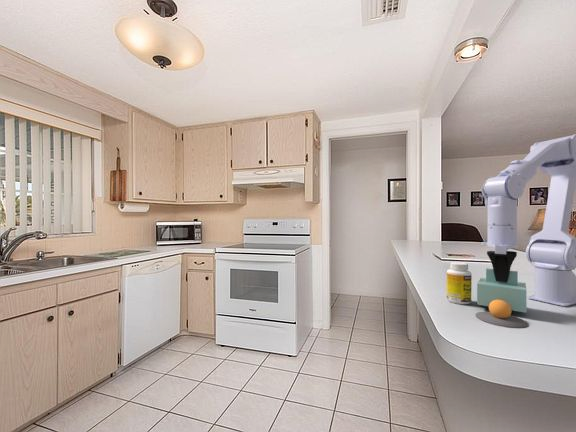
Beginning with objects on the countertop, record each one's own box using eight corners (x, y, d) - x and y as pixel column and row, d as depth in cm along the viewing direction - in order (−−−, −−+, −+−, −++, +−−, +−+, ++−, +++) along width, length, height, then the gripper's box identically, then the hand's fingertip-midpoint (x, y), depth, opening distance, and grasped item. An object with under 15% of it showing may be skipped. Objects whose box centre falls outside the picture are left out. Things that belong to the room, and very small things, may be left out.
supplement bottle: (465, 306, 69) (465, 265, 69) (442, 300, 74) (442, 262, 74) (475, 302, 72) (475, 263, 72) (453, 297, 77) (453, 260, 77)
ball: (493, 298, 60) (493, 317, 59) (515, 302, 59) (515, 321, 58) (485, 297, 64) (485, 315, 63) (506, 300, 63) (506, 319, 62)
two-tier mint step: (480, 296, 73) (480, 265, 73) (525, 303, 68) (525, 269, 68) (477, 304, 66) (477, 270, 66) (526, 312, 61) (526, 275, 61)
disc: (490, 310, 66) (490, 309, 66) (536, 323, 58) (536, 322, 58) (466, 315, 62) (466, 315, 62) (513, 330, 54) (513, 329, 54)
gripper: (484, 224, 75) (484, 274, 75) (478, 225, 64) (478, 283, 64) (518, 225, 71) (517, 277, 71) (518, 226, 60) (518, 288, 59)
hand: (501, 281), depth 67 cm, fingers closed on two-tier mint step
